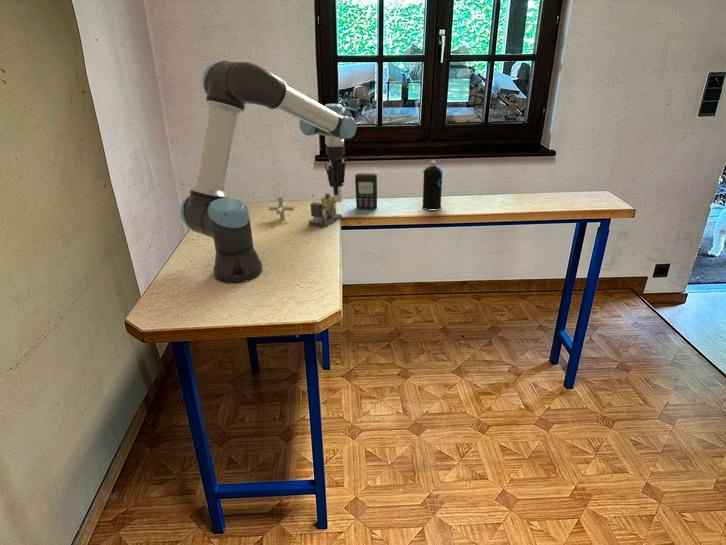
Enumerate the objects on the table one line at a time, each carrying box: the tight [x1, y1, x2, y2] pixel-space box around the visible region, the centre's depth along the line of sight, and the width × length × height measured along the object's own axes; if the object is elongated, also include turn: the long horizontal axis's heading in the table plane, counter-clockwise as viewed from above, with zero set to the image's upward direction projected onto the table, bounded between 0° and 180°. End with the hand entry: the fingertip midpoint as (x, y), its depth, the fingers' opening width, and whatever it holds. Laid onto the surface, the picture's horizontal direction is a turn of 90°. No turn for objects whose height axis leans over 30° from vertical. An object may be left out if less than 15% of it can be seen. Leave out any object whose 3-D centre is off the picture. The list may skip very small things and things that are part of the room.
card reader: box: [354, 173, 378, 210], centre depth 203 cm, size 9×4×15 cm, turn 83°
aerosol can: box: [421, 160, 444, 210], centre depth 201 cm, size 8×8×20 cm
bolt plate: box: [308, 202, 342, 228], centre depth 192 cm, size 12×8×8 cm, turn 150°
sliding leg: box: [320, 192, 337, 215], centre depth 194 cm, size 4×6×8 cm, turn 60°
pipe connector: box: [268, 195, 295, 222], centre depth 194 cm, size 10×10×10 cm
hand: (337, 201), depth 201 cm, fingers closed
